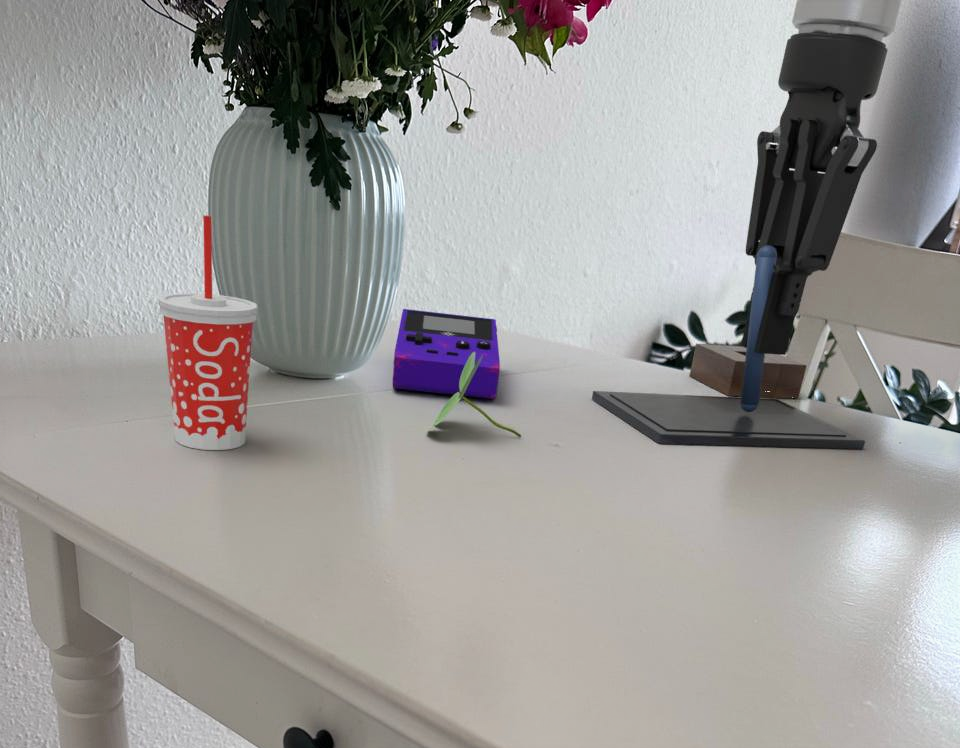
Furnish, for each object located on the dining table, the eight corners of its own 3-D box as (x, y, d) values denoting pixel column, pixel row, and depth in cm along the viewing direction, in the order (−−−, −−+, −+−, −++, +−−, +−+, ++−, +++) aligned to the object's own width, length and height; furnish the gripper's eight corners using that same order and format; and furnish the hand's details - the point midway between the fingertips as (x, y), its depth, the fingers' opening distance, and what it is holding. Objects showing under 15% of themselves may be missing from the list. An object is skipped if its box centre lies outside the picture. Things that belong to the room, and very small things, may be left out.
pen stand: (755, 379, 107) (763, 347, 106) (798, 399, 100) (807, 365, 99) (689, 376, 105) (695, 343, 103) (728, 395, 98) (736, 361, 96)
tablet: (775, 407, 96) (777, 398, 95) (863, 449, 84) (866, 439, 83) (591, 399, 89) (592, 389, 89) (658, 443, 78) (660, 433, 77)
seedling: (474, 495, 76) (407, 445, 74) (516, 421, 79) (453, 371, 77) (518, 465, 70) (446, 409, 68) (561, 385, 73) (493, 330, 71)
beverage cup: (152, 448, 62) (142, 213, 56) (175, 423, 68) (169, 206, 61) (247, 457, 63) (248, 225, 56) (263, 432, 68) (266, 218, 62)
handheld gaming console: (393, 351, 81) (402, 303, 93) (389, 411, 84) (398, 357, 96) (502, 363, 81) (497, 314, 94) (495, 422, 84) (491, 367, 97)
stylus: (751, 408, 88) (771, 243, 81) (761, 413, 86) (781, 246, 80) (736, 410, 87) (754, 244, 80) (745, 414, 86) (764, 247, 79)
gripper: (747, 34, 79) (686, 331, 89) (857, 21, 66) (771, 367, 77) (824, 48, 81) (755, 336, 92) (944, 39, 69) (848, 372, 79)
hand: (762, 349), depth 84 cm, fingers closed on stylus, 1 cm apart
